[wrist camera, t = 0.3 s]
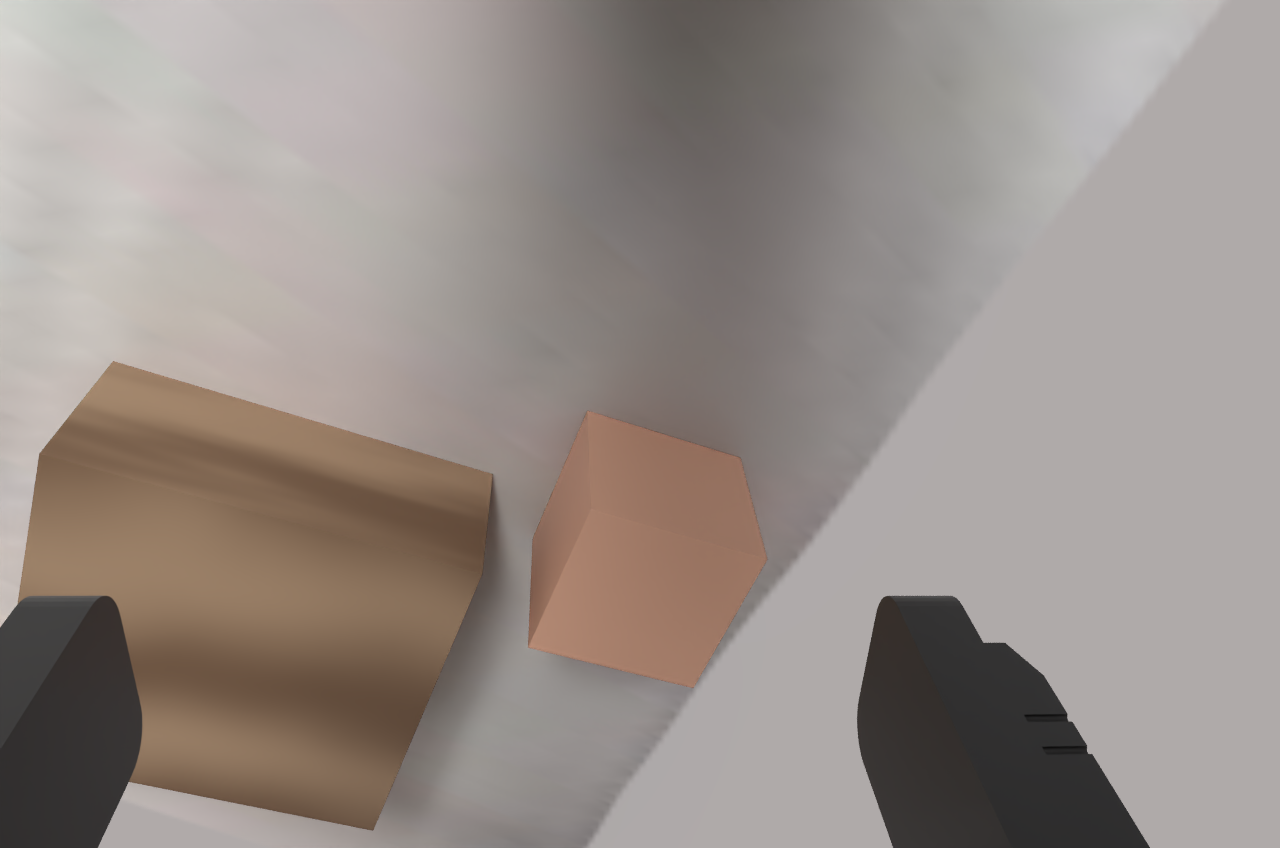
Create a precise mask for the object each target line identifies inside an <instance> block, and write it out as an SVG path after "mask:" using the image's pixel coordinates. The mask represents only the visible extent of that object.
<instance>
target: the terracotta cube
mask: <svg viewBox="0 0 1280 848" xmlns="http://www.w3.org/2000/svg"><path fill="white" fill-rule="evenodd" d="M766 561H767V556H766V552H765V548H764V544H763V541H762V537H761V533H760V529H759V526H758V522H757V518H756V514H755V511H754V507H753V503H752V500H751V496H750V492H749V488H748V485H747V481H746V477H745V473H744V470H743V466H742V462H741V458H739V457H736V456H733V455H730V454H726V453H723V452H720V451H717V450H713V449H710V448H707V447H704V446H700V445H697V444H694V443H691V442H687V441H684V440H681V439H678V438H674V437H671V436H668V435H665V434H662V433H658V432H655V431H652V430H649V429H645V428H642V427H639V426H636V425H632V424H629V423H626V422H623V421H619V420H616V419H613V418H610V417H606V416H603V415H600V414H597V413H594V412H590V411H587V413H586V415H585V417H584V420H583V422H582V424H581V427H580V429H579V431H578V434H577V436H576V438H575V441H574V443H573V445H572V448H571V450H570V453H569V455H568V457H567V460H566V462H565V464H564V467H563V469H562V471H561V474H560V476H559V478H558V481H557V483H556V485H555V488H554V490H553V492H552V495H551V497H550V499H549V502H548V504H547V506H546V509H545V511H544V513H543V516H542V518H541V520H540V523H539V525H538V527H537V530H536V532H535V534H534V537H533V543H532V567H531V590H530V614H529V637H528V648H532V649H536V650H540V651H544V652H548V653H552V654H556V655H560V656H565V657H569V658H573V659H577V660H581V661H585V662H589V663H593V664H597V665H601V666H605V667H609V668H613V669H617V670H621V671H625V672H630V673H634V674H638V675H642V676H646V677H650V678H654V679H658V680H662V681H666V682H670V683H674V684H678V685H682V686H686V687H691V688H694V686H695V684H696V682H697V681H698V679H699V677H700V675H701V674H702V672H703V670H704V669H705V667H706V665H707V663H708V662H709V660H710V658H711V656H712V655H713V653H714V651H715V649H716V648H717V646H718V644H719V642H720V641H721V639H722V637H723V636H724V634H725V632H726V630H727V629H728V627H729V625H730V623H731V622H732V620H733V618H734V616H735V615H736V613H737V611H738V609H739V608H740V606H741V604H742V603H743V601H744V599H745V597H746V596H747V594H748V592H749V590H750V589H751V587H752V585H753V583H754V582H755V580H756V578H757V576H758V575H759V573H760V571H761V570H762V568H763V566H764V564H765V563H766Z"/></svg>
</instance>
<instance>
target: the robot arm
mask: <svg viewBox="0 0 1280 848" xmlns="http://www.w3.org/2000/svg"><path fill="white" fill-rule="evenodd" d="M857 728H858V739H859V746H860V751H861V756H862V760H863V763H864V765H865V768H866V772H867V774H868V777H869V780H870V783H871V786H872V789H873V791H874V794H875V797H876V800H877V803H878V805H879V809H880V811H881V814H882V817H883V820H884V822H885V826H886V828H887V831H888V834H889V837H890V840H891V843H892V846H893V848H1150V847H1149V845H1148V844H1147V842H1146V841H1145V839H1144V837H1143V836H1142V834H1141V833H1140V831H1139V829H1138V828H1137V826H1136V825H1135V823H1134V821H1133V820H1132V818H1131V816H1130V815H1129V813H1128V811H1127V810H1126V808H1125V807H1124V805H1123V803H1122V802H1121V800H1120V799H1119V797H1118V795H1117V794H1116V792H1115V790H1114V789H1113V787H1112V786H1111V784H1110V783H1109V781H1108V779H1107V778H1106V776H1105V774H1104V773H1103V771H1102V769H1101V768H1100V766H1099V765H1098V763H1097V761H1096V760H1095V758H1094V756H1093V755H1092V754H1088V753H1087V745H1086V743H1085V742H1084V740H1083V739H1082V737H1081V735H1080V734H1079V732H1078V730H1077V729H1076V727H1075V726H1074V724H1073V722H1068V719H1067V713H1066V711H1065V709H1064V708H1063V706H1062V704H1061V703H1060V701H1059V700H1058V698H1057V696H1056V695H1055V693H1054V691H1053V690H1052V688H1051V687H1050V685H1049V683H1048V682H1047V680H1046V679H1045V677H1044V675H1042V674H1041V673H1040V672H1039V671H1038V670H1036V669H1035V668H1034V667H1033V666H1032V665H1031V664H1029V663H1028V662H1027V661H1025V659H1023V658H1022V657H1021V656H1020V655H1019V654H1017V653H1016V652H1015V651H1014V650H1013V649H1012V648H1010V647H1009V646H1008V645H1007V644H1006V643H983V642H982V640H981V638H980V636H979V634H978V633H977V631H976V629H975V627H974V625H973V624H972V622H971V620H970V618H969V617H968V615H967V613H966V611H965V610H964V608H963V606H962V605H961V603H960V601H958V599H957V598H955V597H953V596H886V597H884V598H883V599H882V600H881V602H880V604H879V606H878V609H877V613H876V618H875V622H874V628H873V632H872V637H871V642H870V647H869V653H868V657H867V662H866V667H865V673H864V677H863V682H862V687H861V692H860V697H859V703H858V714H857ZM141 739H142V710H141V704H140V700H139V695H138V691H137V687H136V682H135V678H134V673H133V669H132V665H131V660H130V656H129V651H128V647H127V642H126V638H125V634H124V629H123V625H122V620H121V616H120V612H119V609H118V607H117V604H116V603H115V601H114V600H113V599H112V598H111V597H109V596H28V597H26V598H24V599H23V600H22V601H20V602H19V604H18V605H17V606H16V607H15V608H14V610H13V611H12V613H11V614H10V615H9V617H8V618H7V619H6V621H5V622H4V623H3V625H2V626H1V627H0V848H98V846H99V844H100V842H101V840H102V837H103V835H104V833H105V831H106V829H107V826H108V825H109V823H110V820H111V818H112V816H113V814H114V812H115V810H116V808H117V805H118V803H119V801H120V799H121V797H122V795H123V793H124V791H125V789H126V786H127V784H128V782H129V780H130V778H131V776H132V773H133V771H134V769H135V766H136V763H137V759H138V755H139V751H140V746H141Z"/></svg>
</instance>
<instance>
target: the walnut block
mask: <svg viewBox="0 0 1280 848" xmlns="http://www.w3.org/2000/svg"><path fill="white" fill-rule="evenodd" d="M492 476H493V474H490V473H487V472H483V471H480V470H477V469H473V468H470V467H467V466H463V465H460V464H457V463H453V462H450V461H446V460H443V459H440V458H436V457H433V456H430V455H426V454H423V453H420V452H416V451H413V450H410V449H406V448H403V447H399V446H396V445H393V444H389V443H386V442H383V441H379V440H376V439H373V438H369V437H366V436H362V435H359V434H356V433H352V432H349V431H346V430H342V429H339V428H336V427H332V426H329V425H326V424H322V423H319V422H315V421H312V420H309V419H305V418H302V417H299V416H295V415H292V414H289V413H285V412H282V411H279V410H275V409H272V408H268V407H265V406H262V405H258V404H255V403H252V402H248V401H245V400H242V399H238V398H235V397H232V396H228V395H225V394H221V393H218V392H215V391H211V390H208V389H205V388H201V387H198V386H195V385H191V384H188V383H185V382H181V381H178V380H174V379H171V378H168V377H164V376H161V375H158V374H154V373H151V372H148V371H144V370H141V369H138V368H134V367H131V366H127V365H124V364H121V363H117V362H114V361H113V362H112V363H111V365H110V366H109V367H108V368H107V370H106V371H105V372H104V373H103V375H102V376H101V377H100V378H99V380H98V381H97V382H96V383H95V385H94V386H93V387H92V388H91V390H90V391H89V392H88V393H87V395H86V396H85V397H84V399H83V400H82V401H81V402H80V404H79V405H78V406H77V407H76V409H75V410H74V411H73V412H72V414H71V415H70V416H69V417H68V419H67V420H66V421H65V422H64V424H63V425H62V426H61V427H60V429H59V430H58V431H57V432H56V434H55V435H54V436H53V437H52V439H51V440H50V441H49V442H48V444H47V445H46V446H45V448H44V449H43V450H42V451H41V453H40V454H39V460H38V467H37V474H36V481H35V488H34V495H33V502H32V509H31V516H30V522H29V529H28V536H27V543H26V550H25V557H24V564H23V571H22V577H21V584H20V591H19V598H18V604H19V602H20V601H22V600H23V599H24V598H26V597H28V596H109V597H111V598H112V599H113V600H114V601H115V603H116V604H117V607H118V609H119V612H120V616H121V620H122V625H123V629H124V634H125V638H126V642H127V647H128V651H129V656H130V660H131V665H132V669H133V673H134V678H135V682H136V687H137V691H138V695H139V700H140V704H141V710H142V739H141V746H140V751H139V755H138V759H137V763H136V766H135V769H134V771H133V773H132V776H131V778H130V780H129V782H133V783H138V784H143V785H148V786H153V787H158V788H163V789H168V790H173V791H178V792H183V793H188V794H193V795H198V796H203V797H208V798H213V799H218V800H223V801H228V802H233V803H238V804H243V805H248V806H253V807H258V808H263V809H268V810H273V811H278V812H283V813H288V814H293V815H298V816H303V817H308V818H313V819H318V820H323V821H328V822H333V823H338V824H343V825H348V826H353V827H358V828H363V829H368V830H374V827H375V825H376V823H377V820H378V818H379V815H380V813H381V811H382V808H383V806H384V804H385V801H386V799H387V797H388V794H389V792H390V790H391V787H392V785H393V783H394V780H395V778H396V776H397V773H398V771H399V769H400V766H401V764H402V761H403V759H404V757H405V754H406V752H407V750H408V747H409V745H410V743H411V740H412V738H413V736H414V733H415V731H416V729H417V726H418V724H419V722H420V719H421V717H422V715H423V712H424V710H425V708H426V705H427V703H428V700H429V698H430V696H431V693H432V691H433V689H434V686H435V684H436V682H437V679H438V677H439V675H440V672H441V670H442V668H443V665H444V663H445V661H446V658H447V656H448V654H449V651H450V649H451V647H452V644H453V642H454V639H455V637H456V635H457V632H458V630H459V628H460V625H461V623H462V621H463V618H464V616H465V614H466V611H467V609H468V607H469V604H470V602H471V600H472V597H473V595H474V593H475V590H476V588H477V586H478V583H479V581H480V578H481V576H482V573H483V564H484V554H485V544H486V534H487V525H488V515H489V505H490V495H491V486H492Z"/></svg>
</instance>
